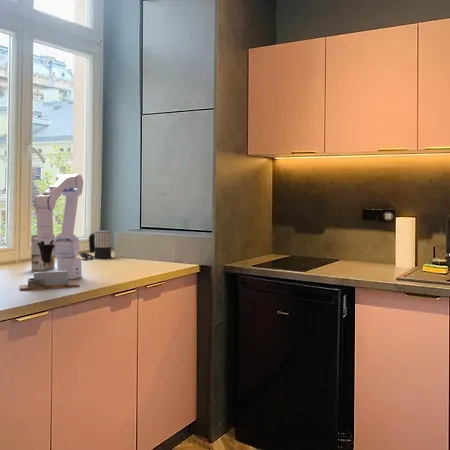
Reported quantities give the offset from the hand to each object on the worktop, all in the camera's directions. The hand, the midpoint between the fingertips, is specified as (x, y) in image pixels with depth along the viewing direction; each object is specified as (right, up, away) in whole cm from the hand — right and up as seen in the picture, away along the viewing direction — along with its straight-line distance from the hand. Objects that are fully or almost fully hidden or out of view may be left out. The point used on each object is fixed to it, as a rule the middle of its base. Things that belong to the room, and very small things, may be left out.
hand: (45, 261), depth 202 cm
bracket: (+3, -10, -2) cm, 10 cm away
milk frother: (0, -4, +80) cm, 81 cm away
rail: (+3, -9, -3) cm, 9 cm away
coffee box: (-16, -7, +42) cm, 45 cm away
